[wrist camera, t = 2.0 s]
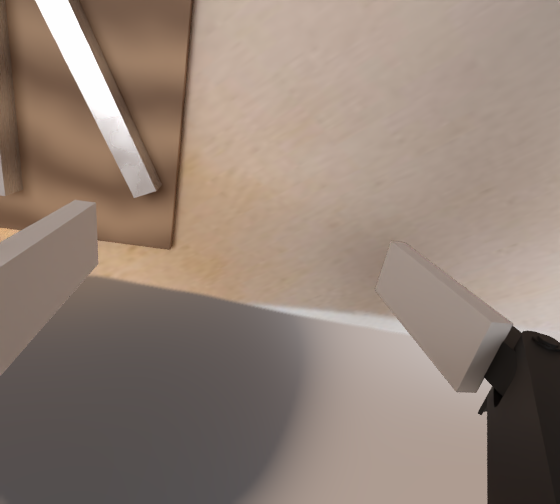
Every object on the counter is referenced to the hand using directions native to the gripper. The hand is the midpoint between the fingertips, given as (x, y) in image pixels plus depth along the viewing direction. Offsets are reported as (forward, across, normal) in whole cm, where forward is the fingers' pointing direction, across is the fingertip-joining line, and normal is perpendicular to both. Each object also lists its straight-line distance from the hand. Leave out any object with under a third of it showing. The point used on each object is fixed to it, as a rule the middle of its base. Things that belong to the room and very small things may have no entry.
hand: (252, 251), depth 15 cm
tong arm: (+18, -12, +6) cm, 23 cm away
